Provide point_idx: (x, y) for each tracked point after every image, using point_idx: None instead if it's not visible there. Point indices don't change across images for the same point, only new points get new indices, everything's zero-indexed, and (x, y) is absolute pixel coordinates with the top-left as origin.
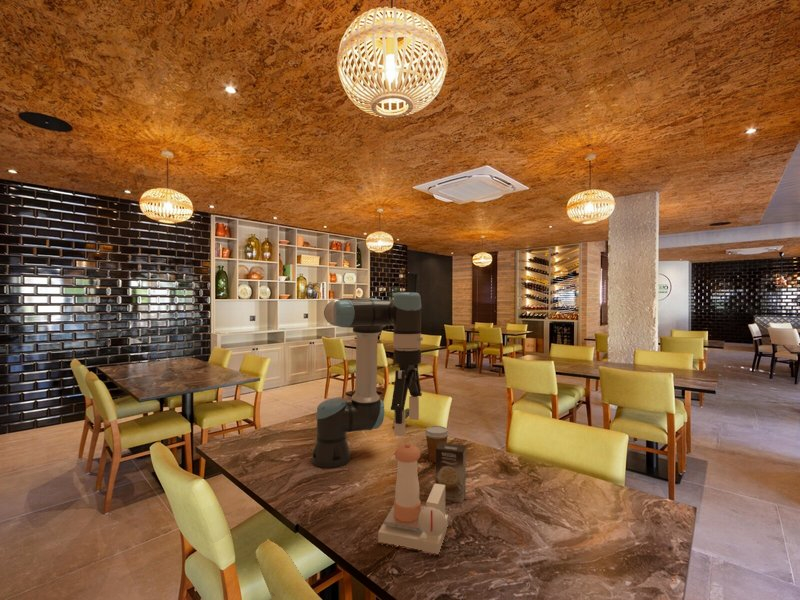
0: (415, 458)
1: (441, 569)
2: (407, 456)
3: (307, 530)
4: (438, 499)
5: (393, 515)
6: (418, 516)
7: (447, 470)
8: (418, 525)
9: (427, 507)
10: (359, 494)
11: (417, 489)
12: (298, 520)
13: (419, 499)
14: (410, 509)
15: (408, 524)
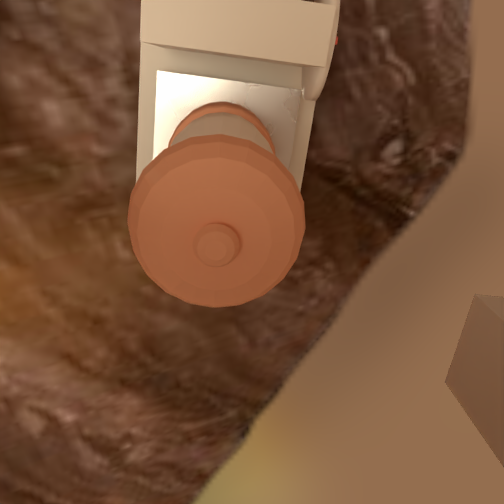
0: (277, 159)
1: (378, 7)
2: (303, 215)
3: (265, 404)
4: (296, 6)
5: None
6: (243, 107)
7: None
8: (285, 100)
9: (326, 61)
10: (51, 339)
11: (242, 123)
12: (229, 438)
13: (198, 113)
14: (271, 140)
15: (283, 138)
